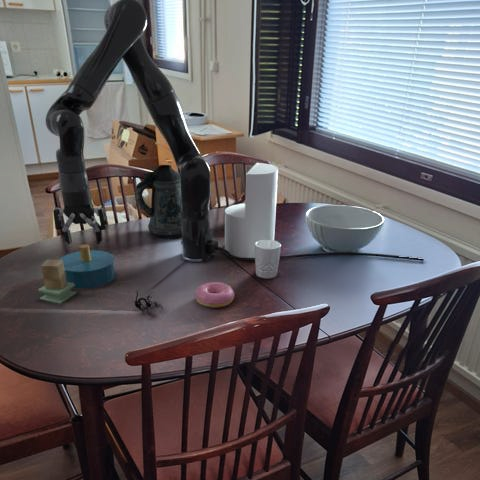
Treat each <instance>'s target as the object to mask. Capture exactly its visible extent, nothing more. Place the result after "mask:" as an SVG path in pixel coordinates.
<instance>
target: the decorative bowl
mask: <svg viewBox="0 0 480 480" xmlns="http://www.w3.org/2000/svg"><path fill="white" fill-rule="evenodd" d="M304 216H305V217H304V218H305V223H306V225H307V229H308V231H309V234H310V235H311V236H312V238H313V239H314V240H315V241H316V242H317V243H318V244H319V245H320V246H322V249H323V250H324V251H325V252H326V253H335V252H341V253H348V252H352V253H358V251H359V250H361V249H363V248H365V247H367V246H368V245H369V244H370V243H372V241H374V239H375V238H376V237H377V236H378V235H379V233H380V232H381V230H382V228H383V226H384V223H385V218H384V216H383V215H382V214H380V213H378V212H377V211H375V210H371V209H369V208H365V207H360V206H356V205H346V204H326V205H325V204H324V205H318V206H315V207H312V208H309V209H307V211H305V214H304Z"/></svg>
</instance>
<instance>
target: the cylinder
mask: <svg viewBox="0 0 480 480" xmlns="http://www.w3.org/2000/svg"><path fill="white" fill-rule="evenodd" d="M278 179H279V168H278V167H277V166H276V165H273V164H270V163H264V162H256V163H255V164H254V165H253V166H252V167H251V168H250V169H249V170H248V171H247V172H246V173H245V192H246V195H244V196H245V197H244V198H245V199H244V201H245V204H242V203H238V204H237V203H236V204H232V205H229V206H227V207H226V208H225V209H224V249H225V250H227V251H228V252H229V253H230V254H231V255H233V256H236V257H241V258H255V243H256V242H257V241H260V240H274V241H275V232H276V231H275V230H276V215H277V214H276V213H277V197H278V182H279V181H278Z"/></svg>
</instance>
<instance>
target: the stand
mask: <svg viewBox="0 0 480 480" xmlns="http://www.w3.org/2000/svg"><path fill="white" fill-rule="evenodd" d="M74 286H75V284H74V283H70V282H67V283H66V285H65V286H64V287H63V289H62V290H54V289H46V288H45V284H44V285H43V286H41V287H40V288H38V293H43V295H42V296H40V297H39V300H42V301H47V302H52V303H55V304H63V303H64V302H65V301H67V300H68V299H70V298H71V297H73V296H74V295H76V294H77V291H74V290H72V287H74Z"/></svg>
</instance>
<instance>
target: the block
mask: <svg viewBox="0 0 480 480" xmlns="http://www.w3.org/2000/svg"><path fill="white" fill-rule="evenodd" d="M40 267H41V272H42V278H43V283H44V285H45V288H46V289H54V290H62V289H63V287H64V286H65V285H66V283H67V281H66V276H65V270H64V264H63V260H59V259H46V260H45V261H44V262H43V263H42V264H41V266H40Z"/></svg>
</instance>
